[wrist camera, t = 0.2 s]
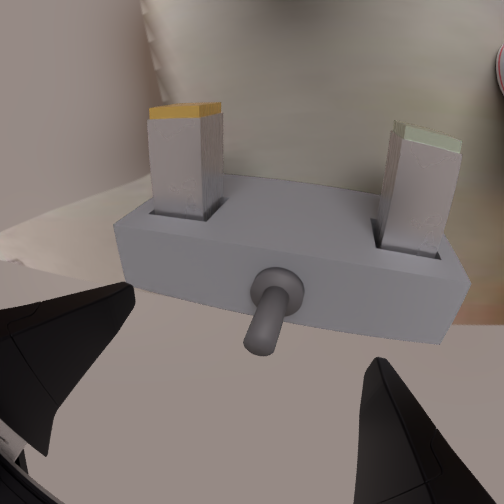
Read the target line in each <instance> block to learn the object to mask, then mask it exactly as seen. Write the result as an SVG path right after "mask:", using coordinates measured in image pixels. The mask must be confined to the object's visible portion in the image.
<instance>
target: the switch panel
mask: <svg viewBox="0 0 504 504" xmlns="http://www.w3.org/2000/svg"><path fill="white" fill-rule="evenodd" d="M223 184H224V204H223V205H222V206H221V207H220V208H219V209H218V210H217V211H216V212H215V213H214V214H213V215H212V217H211V218H210V219H209V220H208V221H207V222H204V221H197V220H189V219H182V218H174V217H167V216H159V215H155V209H154V200H153V197H152V198H151V199H149V200H148V201H146V202H145V203H143V204H142V205H140V206H139V207H137V208H136V209H135V210H133V211H132V212H130V213H129V214H127V215H126V216H125V217H123V218H122V219H120V220H119V221H117V222H116V223H115V224H113V227H114V232H115V237H116V241H117V246H118V251H119V255H120V260H121V264H122V268H123V272H124V276H125V280H126V283H129V284H131V285H133V287H136V288H140V289H143V290H147V291H151V292H155V293H158V294H162V295H166V296H170V297H174V298H178V299H182V300H187V301H190V302H195V303H199V304H203V305H208V306H212V307H216V308H220V309H225V310H230V311H234V312H239V313H243V314H248V315H253V316H254V317H253V319H252V321H251V324H250V326H249V329H248V331H247V334H246V336H245V338H244V342H243V343H244V346H245V348H246V349H247V350H248V351H249V352H251V353H253V354H255V355H258V356H268V355H270V354H272V353H273V352H274V349H275V347H276V343H277V340H278V337H279V333H280V330H281V326H282V323H283V322H289V323H293V324H299V325H304V326H311V327H316V328H321V329H328V330H334V331H339V332H346V333H352V334H359V335H366V336H373V337H380V338H387V339H395V340H403V341H412V342H421V343H429V344H439V345H440V343H441V342H442V340H443V338H444V336H445V335H446V333H447V331H448V329H449V327H450V326H451V324H452V322H453V320H454V318H455V316H456V314H457V312H458V310H459V308H460V306H461V304H462V302H463V300H464V298H465V296H466V294H467V292H468V290H469V288H470V285H471V282H470V280H469V278H468V276H467V274H466V272H465V270H464V268H463V266H462V265H461V263H460V261H459V259H458V257H457V255H456V254H455V252H454V250H453V248H452V247H451V245H450V243H449V241H448V240H447V238H446V236H445V235H444V233H443V235H442V238H441V241H440V244H439V247H438V250H437V253H436V256H435V259H432V258H427V257H422V256H416V255H411V254H405V253H400V252H394V251H388V250H383V249H377V248H376V247H375V241H374V236H373V230H374V225H375V221H376V216H377V211H378V206H379V201H380V196H381V195H377V194H372V193H366V192H360V191H355V190H349V189H342V188H336V187H330V186H323V185H316V184H309V183H302V182H294V181H286V180H278V179H270V178H261V177H251V176H241V175H230V174H223Z"/></svg>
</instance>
